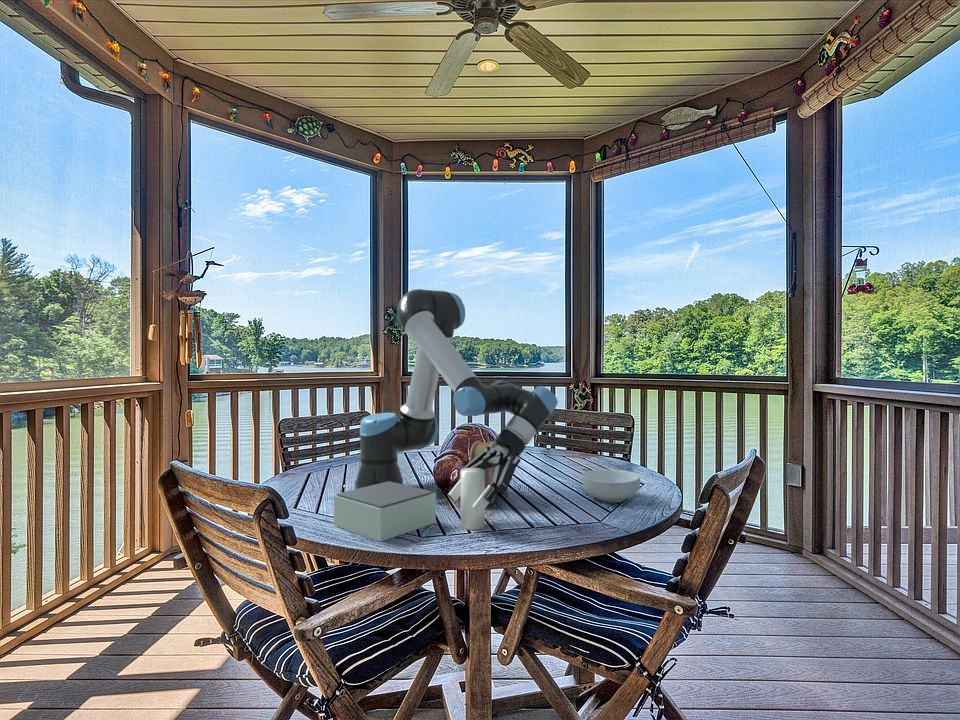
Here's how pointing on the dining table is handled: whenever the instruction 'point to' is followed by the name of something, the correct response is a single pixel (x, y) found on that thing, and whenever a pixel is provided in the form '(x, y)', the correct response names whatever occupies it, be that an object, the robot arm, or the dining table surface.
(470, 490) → the post
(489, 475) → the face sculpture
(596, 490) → the cereal bowl
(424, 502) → the block
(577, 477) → the dining table surface
